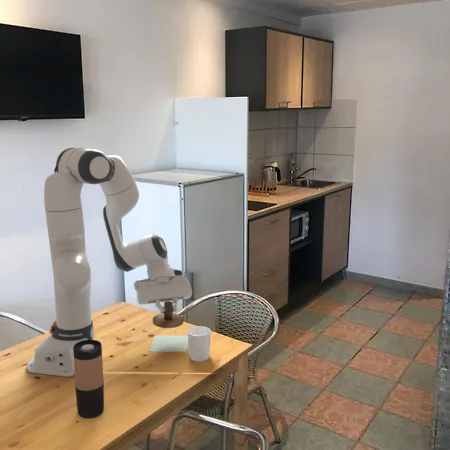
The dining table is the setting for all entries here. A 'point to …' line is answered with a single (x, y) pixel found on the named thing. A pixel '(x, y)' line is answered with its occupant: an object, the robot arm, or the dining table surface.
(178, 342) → the mat
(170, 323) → the lid
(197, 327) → the white cup
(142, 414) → the dining table surface
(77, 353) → the travel mug
